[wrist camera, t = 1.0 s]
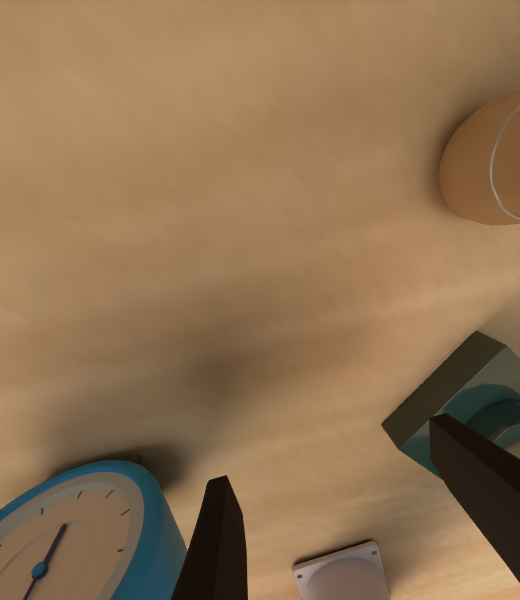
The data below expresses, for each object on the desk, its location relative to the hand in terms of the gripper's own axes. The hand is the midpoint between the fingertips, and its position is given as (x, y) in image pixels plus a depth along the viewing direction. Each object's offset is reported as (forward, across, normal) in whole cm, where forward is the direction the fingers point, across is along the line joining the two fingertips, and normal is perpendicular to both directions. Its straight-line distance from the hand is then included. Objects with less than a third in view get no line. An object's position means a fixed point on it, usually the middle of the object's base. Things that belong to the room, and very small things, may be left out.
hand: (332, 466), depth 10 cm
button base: (+10, -14, +12) cm, 21 cm away
